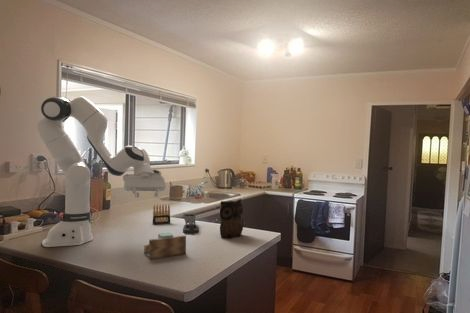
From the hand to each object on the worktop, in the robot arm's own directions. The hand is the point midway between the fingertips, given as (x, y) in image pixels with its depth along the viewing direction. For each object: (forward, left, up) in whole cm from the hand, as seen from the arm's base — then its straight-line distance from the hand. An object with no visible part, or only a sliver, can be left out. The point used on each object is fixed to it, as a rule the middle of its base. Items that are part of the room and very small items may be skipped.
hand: (147, 196), depth 167 cm
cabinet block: (+3, -20, -22) cm, 30 cm away
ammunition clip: (+20, +40, -23) cm, 50 cm away
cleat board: (+3, -19, -23) cm, 30 cm away
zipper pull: (+31, +20, -23) cm, 44 cm away
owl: (+44, -4, -23) cm, 50 cm away
